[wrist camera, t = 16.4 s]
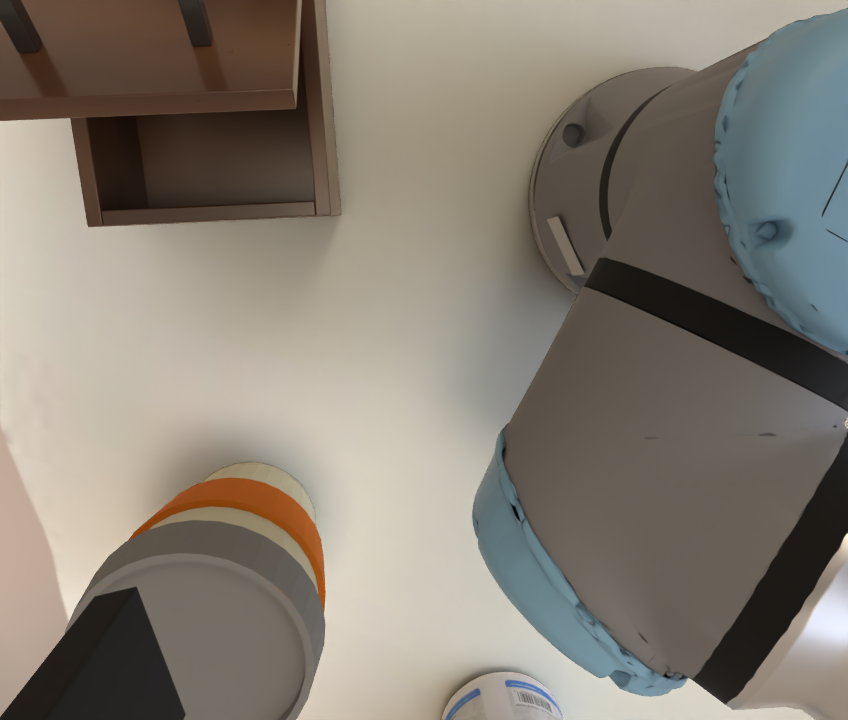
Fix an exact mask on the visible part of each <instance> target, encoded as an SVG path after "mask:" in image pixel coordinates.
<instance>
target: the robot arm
mask: <svg viewBox="0 0 848 720" xmlns="http://www.w3.org/2000/svg"><path fill="white" fill-rule="evenodd" d="M529 212H530V220H531V226H532V230H533V234H534V237H535V240H536V243H537V246H538V248H539V250H540V252H541V255H542V257H543V258H544V260H545V262H546V263H547V265H548V266H549V268H550V269H551V271H552V272H553V273H554V275H555V276H556V277H557V278H558V279H559V280H560V281H561V282H562V283H563V284H564V285H565V286H566V287H567V288H568V289H570V290H571V291H572V292H574V293H575V294H576V295H578V296H577V298H576V300H575V302H574V303H573V305H572V307H571V309H570V311H569V313H568V315H567V317H566V319H565V321H564V322H563V324H562V326H561V328H560V330H559V332H558V334H557V336H556V338H555V340H554V341H553V343H552V345H551V347H550V349H549V351H548V353H547V355H546V357H545V359H544V360H543V362H542V364H541V366H540V368H539V370H538V372H537V373H536V375H535V377H534V379H533V381H532V383H531V384H530V386H529V388H528V390H527V392H526V393H525V395H524V397H523V399H522V401H521V402H520V404H519V406H518V408H517V410H516V412H515V413H514V415H513V417H512V419H511V421H510V422H509V423H508V424H507V425H506V426H505V427H504V428H503V429H502V430H501V432H500V434H499V435H498V438H497V442H496V448H495V454H494V456H493V458H492V461H491V463H490V465H489V467H488V469H487V471H486V473H485V475H484V478H483V480H482V482H481V484H480V486H479V488H478V490H477V493H476V496H475V499H474V503H473V512H472V519H473V525H474V530H475V534H476V536H477V538H478V546H479V550H480V552H481V555H482V557H483V559H484V561H485V563H486V565H487V567H488V569H489V571H490V572H491V574H492V576H493V577H494V579H495V580H496V582H497V583H498V585H499V586H500V588H501V589H502V591H503V592H504V593H505V595H506V596H507V597H508V599H509V600H510V601H511V603H512V604H513V605H514V606H515V607H516V608H517V609H518V611H519V612H520V613H521V614H522V615H523V616H524V617H525V618H526V619H527V621H528V622H529V623H530V624H531V625H532V626H533V627H534V628H535V629H536V630H537V631H538V632H539V633H540V634H541V635H542V636H543V637H544V638H546V639H547V640H548V641H549V642H550V643H551V644H552V645H553V646H554V647H555V648H557V649H558V650H559V651H560V652H562V653H563V654H564V655H565V656H567V657H568V658H569V659H571V660H572V661H573V662H575V663H576V664H578V665H579V666H581V667H582V668H584V669H585V670H587V671H588V672H590V673H592V674H593V675H595V676H596V677H598V678H604V677H606V676H609V677H610V678H611V679H612V680H613V681H614V683H615V684H616V685H617V686H618V687H619V688H620V689H622V690H625V691H628V692H630V693H634V694H638V695H641V696H659V695H663V694H667V693H668V692H670V691H671V690H672V689H676V688H680V687H682V686H683V685H684V684H685V682H686V681H687V679H688V678H690V679H692V680H693V681H695V682H696V683H697V684H699V685H700V686H701V687H703V688H704V689H705V690H707V691H708V692H709V693H711V694H712V695H713V696H715V697H716V698H717V699H719V700H720V701H721V702H723V703H724V704H725V705H727V706H728V707H730V708H731V709H732V710H744V709H758V708H773V707H789V708H794V709H800V710H803V711H804V712H806V713H807V714H808V715H810V716H811V717H813V718H814V719H815V720H848V429H847V428H846V427H845V425H844V422H845V421H846V419H847V417H848V8H846V9H843V10H840V11H837V12H835V13H832V14H824V15H817V16H813V17H812V18H809V19H806V20H799V21H795V22H793V23H790V24H788V25H786V26H784V27H782V28H780V29H778V30H777V31H775V32H774V33H772V34H771V35H770V36H769V37H768V38H766V39H764V40H762V41H760V42H758V43H756V44H754V45H752V46H750V47H748V48H746V49H744V50H742V51H740V52H738V53H736V54H734V55H732V56H729V57H727V58H725V59H723V60H721V61H719V62H717V63H715V64H713V65H711V66H709V67H707V68H705V69H703V70H701V71H699V72H698V71H694V70H690V69H685V68H678V67H655V68H646V69H641V70H635V71H631V72H628V73H624V74H621V75H619V76H616V77H614V78H611V79H609V80H607V81H605V82H604V83H602V84H600V85H598V86H596V87H595V88H593V89H592V90H590V91H589V92H587V93H586V94H584V95H583V96H581V97H580V98H579V99H578V100H576V101H575V102H574V103H573V104H572V105H571V106H570V107H569V108H568V109H567V110H566V111H565V112H564V113H563V114H562V115H561V116H560V118H559V119H558V120H557V121H556V123H555V124H554V125H553V127H552V128H551V130H550V131H549V133H548V135H547V136H546V138H545V140H544V142H543V144H542V146H541V148H540V150H539V153H538V155H537V158H536V161H535V164H534V168H533V172H532V176H531V182H530V191H529ZM185 715H186V713H185V711H184V708H183V706H182V703H181V700H180V698H179V695H178V693H177V690H176V687H175V685H174V682H173V680H172V677H171V675H170V672H169V669H168V667H167V664H166V662H165V659H164V656H163V654H162V651H161V649H160V646H159V643H158V641H157V638H156V636H155V633H154V630H153V628H152V625H151V623H150V620H149V617H148V615H147V612H146V610H145V607H144V604H143V602H142V599H141V597H140V594H139V591H138V589H137V586H136V587H132V588H127V589H123V590H119V591H115V592H111V593H107V594H102V595H98V596H94V598H93V599H92V600H91V602H90V603H89V604H88V605H87V607H86V608H85V609H84V611H83V612H82V613H81V614H80V616H79V617H78V618H77V620H76V621H75V622H74V623H73V625H72V626H71V627H70V628H69V630H68V631H67V632H66V634H65V635H64V636H63V637H62V639H61V640H60V641H59V643H58V644H57V645H56V646H55V648H54V649H53V650H52V652H51V653H50V654H49V655H48V657H47V658H46V659H45V661H44V662H43V663H42V664H41V666H40V667H39V668H38V670H37V671H36V672H35V673H34V675H33V676H32V677H31V678H30V680H29V681H28V682H27V684H26V685H25V686H24V687H23V689H22V690H21V691H20V693H19V694H18V695H17V697H16V698H15V699H14V700H13V701H12V703H11V704H10V705H9V707H8V708H7V709H6V710H5V712H4V713H3V714H2V716H1V717H0V720H184V717H185Z"/></svg>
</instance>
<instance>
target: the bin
mask: <svg viewBox="0 0 848 720" xmlns="http://www.w3.org/2000/svg"><path fill="white" fill-rule="evenodd" d="M70 119H71V125H72V131H73V137H74V144H75V150H76V156H77V162H78V168H79V175H80V181H81V187H82V193H83V199H84V206H85V212H86V218H87V224H88V227H102V226H128V225H153V224H173V223H194V222H214V221H235V220H255V219H276V218H296V217H317V216H337V215H341V205H340V191H339V178H338V165H337V151H336V138H335V124H334V111H333V98H332V84H331V71H330V57H329V44H328V31H327V17H326V4H325V0H302V7H301V26H300V46H299V65H298V84H297V103H296V108H295V109H279V110H255V111H230V112H206V113H181V114H157V115H132V116H108V117H83V118H70Z"/></svg>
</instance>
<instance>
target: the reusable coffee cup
mask: <svg viewBox="0 0 848 720" xmlns="http://www.w3.org/2000/svg"><path fill="white" fill-rule="evenodd" d="M136 586H137V589H138V591H139V594H140V597H141V599H142V602H143V604H144V607H145V610H146V612H147V615H148V617H149V620H150V623H151V625H152V628H153V630H154V633H155V636H156V638H157V641H158V643H159V646H160V649H161V651H162V654H163V656H164V659H165V662H166V664H167V667H168V669H169V672H170V675H171V677H172V680H173V682H174V685H175V687H176V690H177V693H178V695H179V698H180V700H181V703H182V706H183V708H184V711H185V713H186V715H185V717H184V720H296V719H297V718H298V716H299V714H300V712H301V710H302V708H303V707H304V705H305V703H306V701H307V699H308V696H309V693H310V689H311V686H312V683H313V680H314V676H315V673H316V670H317V667H318V663H319V660H320V656H321V653H322V650H323V646H324V637H325V619H324V607H325V577H324V560H323V551H322V544H321V539H320V536H319V534H318V531H317V529H316V526H315V514H314V508H313V505H312V503H311V500H310V498H309V496H308V494H307V493H306V491H305V490H304V488H303V487H302V486H301V485H300V484H299V483H298V482H297V480H296V479H295V478H293V477H292V476H290V475H289V474H287V473H286V472H285V471H283V470H280V469H278V468H276V467H274V466H270V465H266V464H262V463H250V462H246V463H238V464H233V465H230V466H227V467H224V468H222V469H220V470H218V471H216V472H215V473H213V474H211V475H210V476H209V477H208V478H207V479H206V480H204V481H203V482H202V483H200V484H197V485H194V486H192V487H191V488H189V489H187V490H185V491H183V492H182V493H180V494H179V495H178V496H176V497H175V498H174V499H173V500H172V501H170V502H169V503H168V504H167V505H166V506H165V507H163V508H162V509H161V510H160V511H159V512H157V513H156V514H155V515H154V516H153V517H152V518H150V519H149V520H148V521H147V522H146V523H144V524H143V525H142V526H141V527H140V528H139V529H137V530H136V531H135V532H134V533H133V535H132V536H131V537H130V539H129V540H128V541H127V542H125V543H124V544H123V545H122V546H120V547H119V548H118V549H117V550H116V551H115V552H113V553H112V554H111V555H110V556H109V557H108V558H107V559H106V561H105V562H104V563H103V564H102V566H101V567H100V568H99V570H98V571H97V572H96V574H95V575H94V577H93V579H92V580H91V582H90V584H89V586H88V587H87V589H86V591H85V593H84V594H83V596H82V598H81V599H80V601H79V603H78V605H77V606H76V608H75V610H74V612H73V614H72V617H71V619H70V621H69V623H68V625H67V628H66V631H65V634H66V632H67V631H68V630H69V628H70V627H71V626H72V625H73V623H74V622H75V621H76V620H77V618H78V617H79V616H80V614H81V613H82V612H83V611H84V609H85V608H86V607H87V605H88V604H89V603H90V602H91V600H92V599H93V598H94V596H98V595H102V594H107V593H111V592H115V591H119V590H123V589H127V588H132V587H136Z"/></svg>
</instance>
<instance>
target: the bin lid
mask: <svg viewBox="0 0 848 720" xmlns="http://www.w3.org/2000/svg"><path fill="white" fill-rule="evenodd" d="M301 7H302V0H0V121H10V120H34V119H59V118H83V117H108V116H132V115H157V114H181V113H206V112H230V111H255V110H279V109H295V108H296V103H297V84H298V65H299V46H300V26H301Z"/></svg>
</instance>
